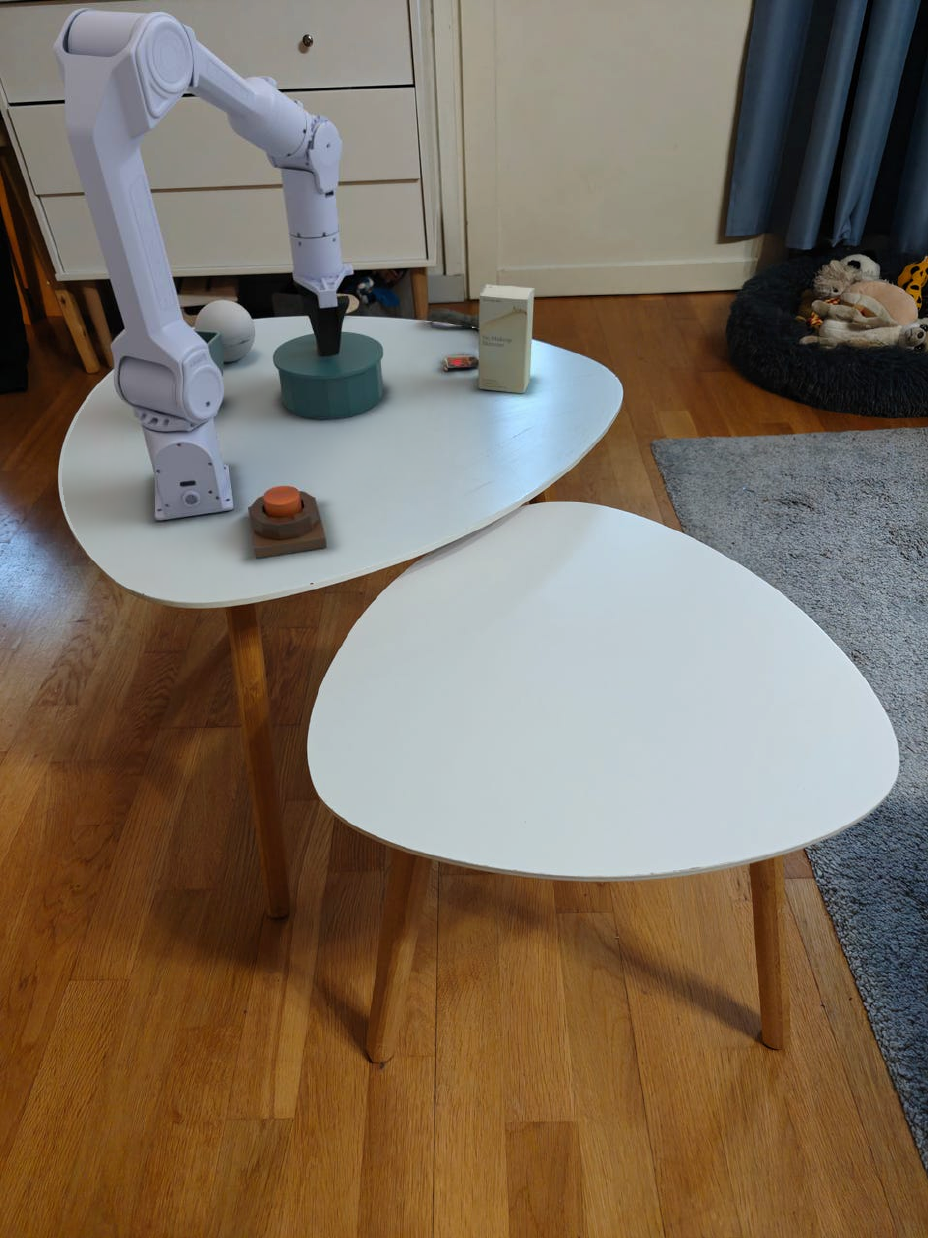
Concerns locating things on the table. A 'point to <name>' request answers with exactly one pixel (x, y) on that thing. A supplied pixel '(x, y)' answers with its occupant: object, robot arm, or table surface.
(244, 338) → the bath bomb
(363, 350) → the tin lid
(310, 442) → the table surface
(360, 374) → the tin
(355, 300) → the flatbread
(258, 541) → the button block
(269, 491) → the button
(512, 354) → the cosmetic box
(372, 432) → the table surface
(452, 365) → the matchbox
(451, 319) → the toy
